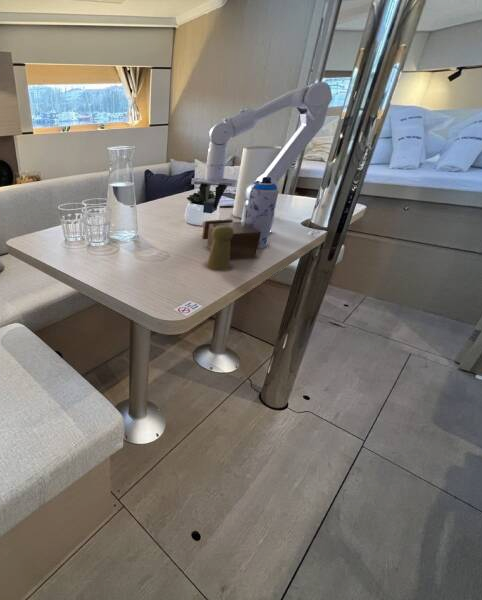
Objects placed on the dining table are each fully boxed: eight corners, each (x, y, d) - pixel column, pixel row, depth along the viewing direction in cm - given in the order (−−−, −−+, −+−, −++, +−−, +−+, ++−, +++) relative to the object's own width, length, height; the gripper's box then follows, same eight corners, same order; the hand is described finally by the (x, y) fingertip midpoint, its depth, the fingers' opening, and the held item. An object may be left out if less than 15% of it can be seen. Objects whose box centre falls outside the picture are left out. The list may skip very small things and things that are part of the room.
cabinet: (206, 247, 99) (209, 223, 96) (238, 245, 100) (242, 221, 96) (220, 260, 90) (224, 234, 86) (255, 257, 91) (261, 231, 87)
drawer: (196, 233, 109) (198, 217, 106) (222, 232, 109) (224, 215, 106) (213, 248, 96) (216, 229, 93) (242, 246, 96) (245, 227, 94)
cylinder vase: (264, 212, 131) (279, 145, 119) (267, 220, 121) (283, 148, 109) (232, 211, 135) (243, 146, 123) (232, 218, 125) (243, 149, 113)
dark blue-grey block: (208, 208, 114) (209, 198, 112) (216, 209, 112) (218, 199, 110) (202, 212, 109) (204, 202, 108) (211, 213, 108) (212, 203, 106)
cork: (226, 272, 83) (233, 231, 78) (203, 268, 86) (208, 228, 81) (231, 263, 88) (238, 224, 82) (209, 260, 91) (214, 222, 85)
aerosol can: (243, 238, 105) (255, 174, 95) (269, 242, 101) (284, 175, 91) (237, 245, 100) (249, 178, 90) (264, 249, 95) (280, 180, 86)
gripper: (189, 165, 104) (186, 207, 111) (235, 167, 97) (228, 211, 104) (197, 163, 109) (193, 203, 116) (241, 164, 102) (234, 206, 108)
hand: (210, 206), depth 110 cm, fingers closed on dark blue-grey block, 3 cm apart
